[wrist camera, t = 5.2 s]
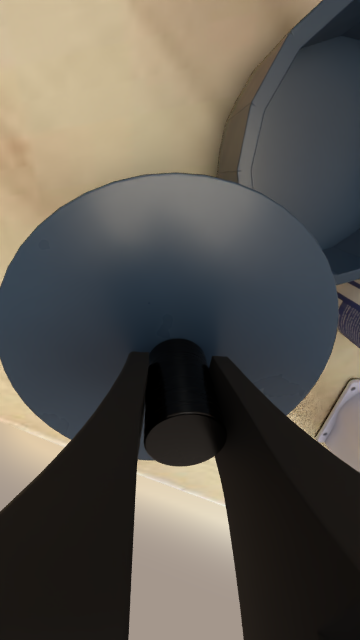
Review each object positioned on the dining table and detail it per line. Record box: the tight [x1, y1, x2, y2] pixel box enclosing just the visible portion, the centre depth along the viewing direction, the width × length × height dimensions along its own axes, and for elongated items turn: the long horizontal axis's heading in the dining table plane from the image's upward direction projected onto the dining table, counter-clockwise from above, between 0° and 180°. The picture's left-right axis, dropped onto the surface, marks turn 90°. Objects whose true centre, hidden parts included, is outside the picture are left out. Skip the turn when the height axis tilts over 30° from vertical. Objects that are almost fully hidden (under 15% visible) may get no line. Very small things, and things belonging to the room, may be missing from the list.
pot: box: [217, 0, 360, 285], centre depth 14 cm, size 12×12×5 cm
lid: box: [0, 173, 339, 466], centre depth 9 cm, size 13×13×5 cm
